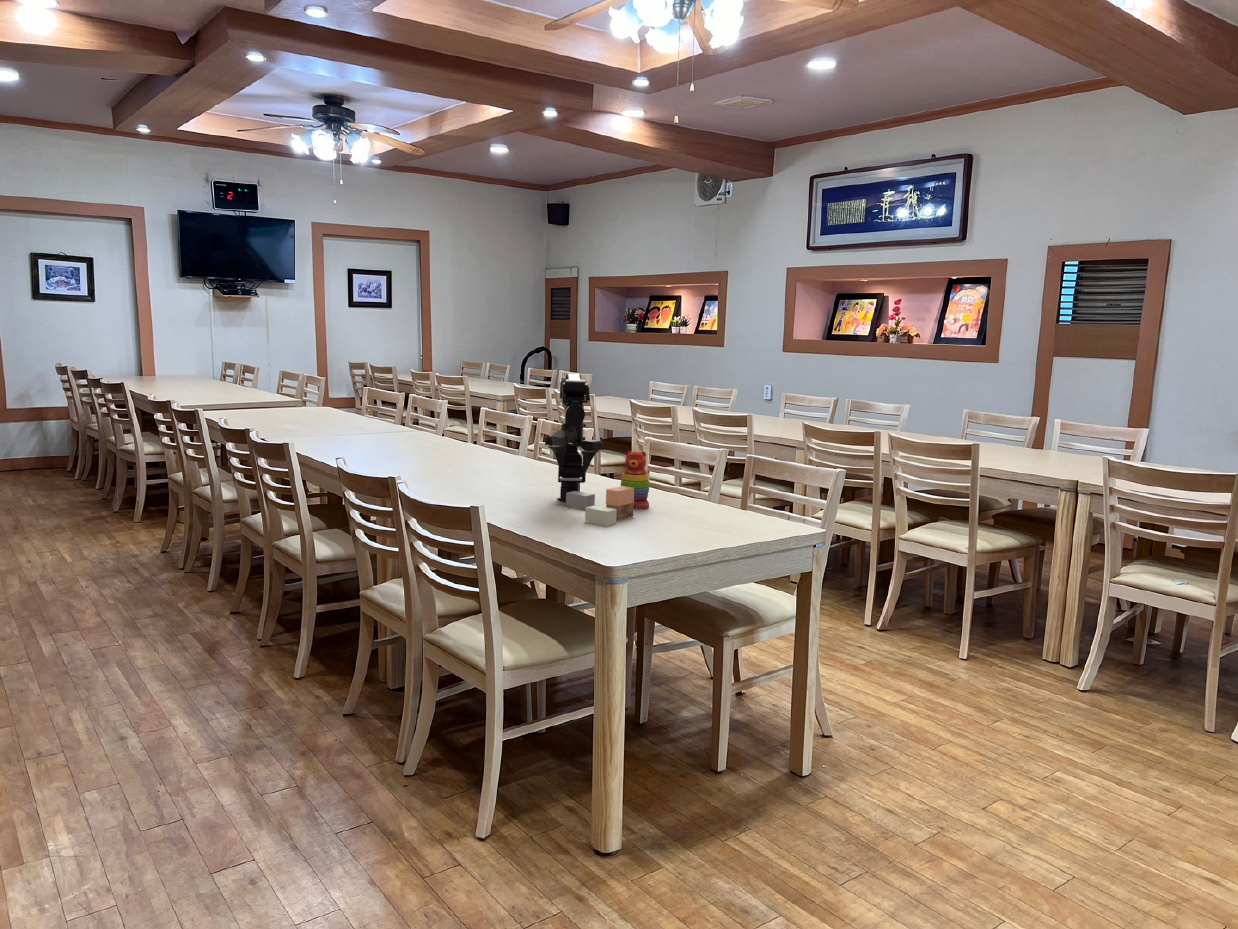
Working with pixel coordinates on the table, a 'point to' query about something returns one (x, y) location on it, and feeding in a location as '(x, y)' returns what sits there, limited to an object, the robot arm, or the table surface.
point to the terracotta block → (619, 496)
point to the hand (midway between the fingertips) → (572, 470)
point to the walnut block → (623, 510)
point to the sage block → (600, 515)
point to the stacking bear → (637, 478)
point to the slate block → (580, 499)
